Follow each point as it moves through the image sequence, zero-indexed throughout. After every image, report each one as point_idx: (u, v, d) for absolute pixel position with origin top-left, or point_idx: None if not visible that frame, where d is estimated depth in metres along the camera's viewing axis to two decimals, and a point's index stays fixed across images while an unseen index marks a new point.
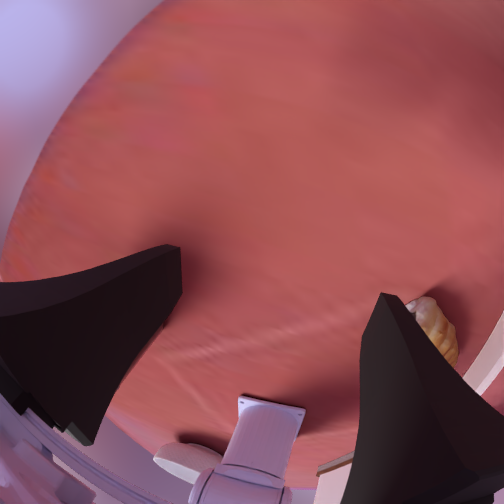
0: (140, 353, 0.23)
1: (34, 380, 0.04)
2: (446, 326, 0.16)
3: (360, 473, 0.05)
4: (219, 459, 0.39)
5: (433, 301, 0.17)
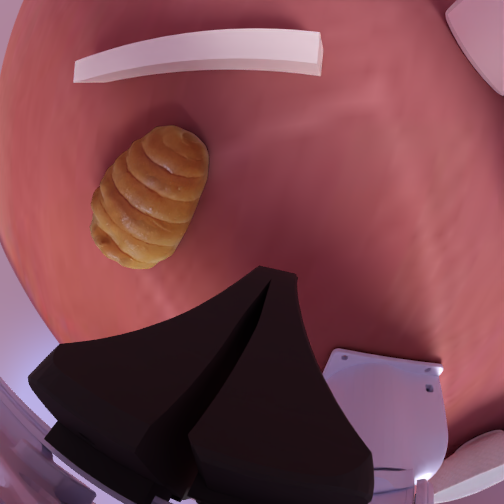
0: None
1: (173, 469, 0.03)
2: None
3: None
4: (474, 445, 0.17)
5: None
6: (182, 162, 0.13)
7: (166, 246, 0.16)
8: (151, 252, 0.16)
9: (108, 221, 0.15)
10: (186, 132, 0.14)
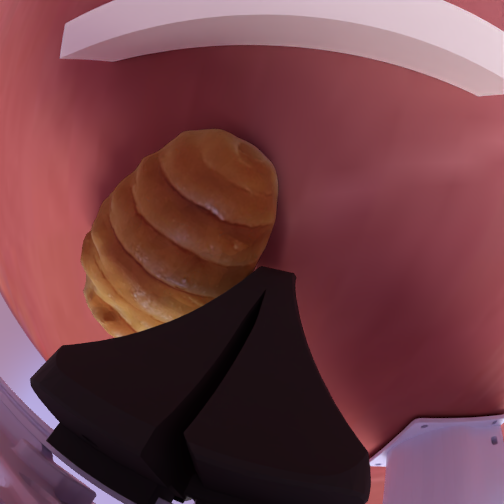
0: None
1: (176, 470, 0.03)
2: (83, 241, 0.10)
3: None
4: None
5: None
6: (242, 199, 0.08)
7: None
8: None
9: (110, 293, 0.09)
10: (242, 142, 0.08)
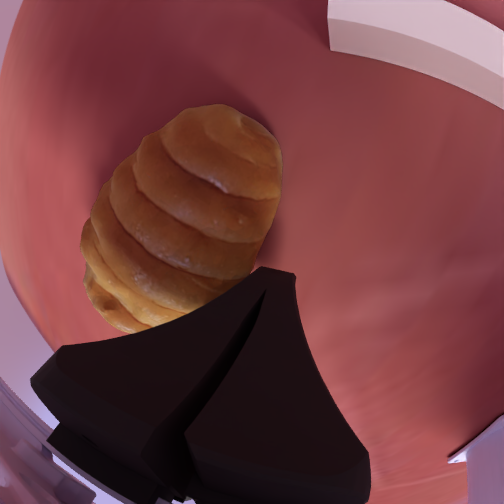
0: None
1: (177, 471, 0.03)
2: None
3: None
4: None
5: None
6: (245, 171, 0.07)
7: None
8: None
9: (110, 279, 0.09)
10: (245, 116, 0.07)
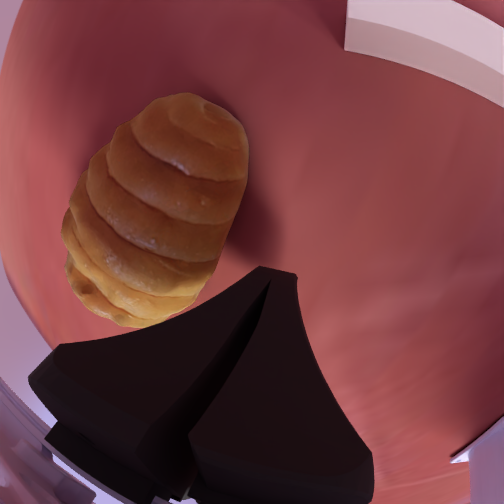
0: None
1: (173, 469, 0.03)
2: (65, 216, 0.10)
3: None
4: None
5: None
6: (206, 153, 0.07)
7: (184, 296, 0.10)
8: (160, 307, 0.10)
9: (86, 262, 0.09)
10: (209, 103, 0.07)
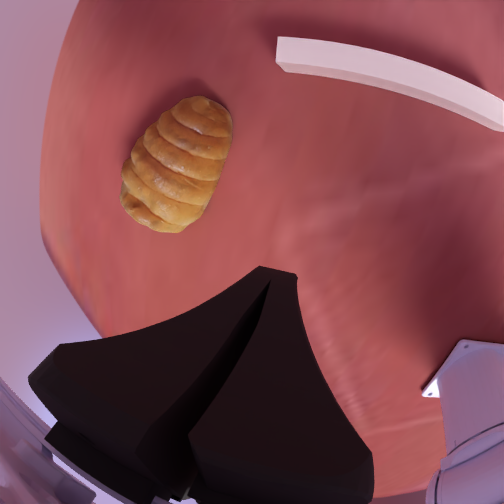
0: None
1: (173, 469, 0.03)
2: (123, 164, 0.17)
3: None
4: None
5: None
6: (210, 124, 0.15)
7: (197, 204, 0.17)
8: (182, 211, 0.17)
9: (140, 185, 0.16)
10: (211, 101, 0.15)
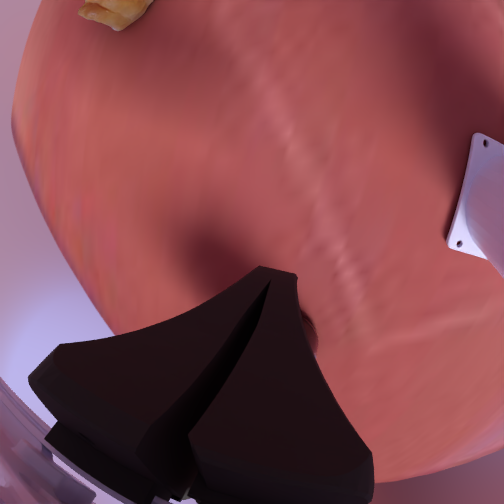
0: None
1: (173, 469, 0.03)
2: None
3: None
4: None
5: None
6: None
7: None
8: None
9: None
10: None
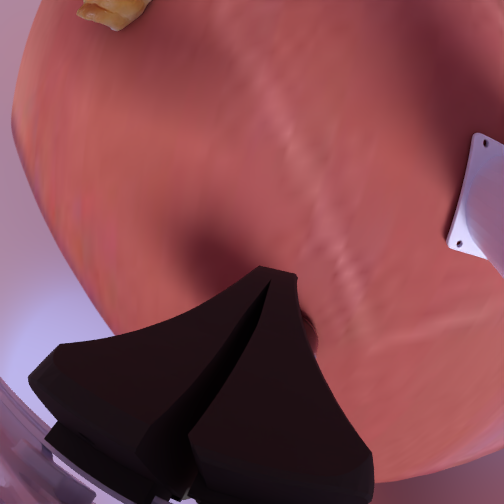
0: None
1: (173, 469, 0.03)
2: None
3: None
4: None
5: None
6: None
7: None
8: None
9: None
10: None
